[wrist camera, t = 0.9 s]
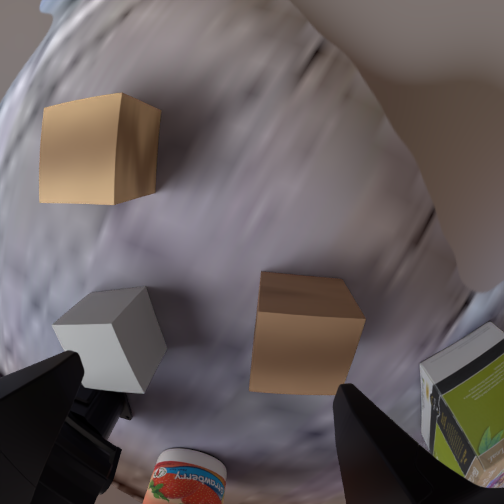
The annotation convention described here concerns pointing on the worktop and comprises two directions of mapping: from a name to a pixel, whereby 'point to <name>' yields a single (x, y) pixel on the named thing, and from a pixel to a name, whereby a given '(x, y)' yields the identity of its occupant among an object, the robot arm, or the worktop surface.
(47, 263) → the worktop surface
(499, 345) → the tea box
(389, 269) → the worktop surface
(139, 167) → the oak block
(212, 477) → the fruit juice
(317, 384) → the walnut block
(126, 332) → the grey block
